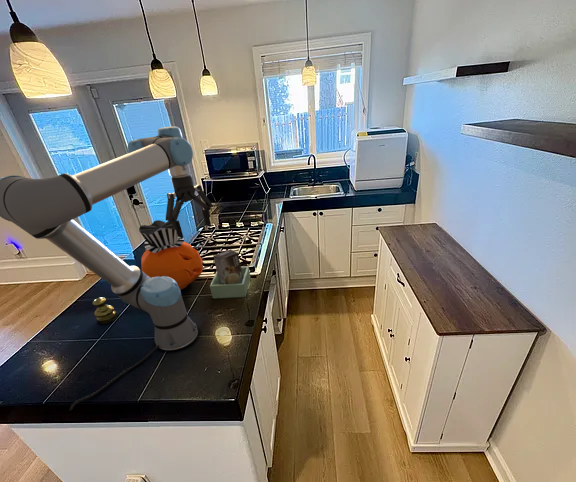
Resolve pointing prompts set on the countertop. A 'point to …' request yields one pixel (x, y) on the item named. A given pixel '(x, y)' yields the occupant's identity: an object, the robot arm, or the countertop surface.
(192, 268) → the jack-o'-lantern
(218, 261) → the coffee box
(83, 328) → the countertop surface
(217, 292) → the tote
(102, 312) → the brass knobbed piece
